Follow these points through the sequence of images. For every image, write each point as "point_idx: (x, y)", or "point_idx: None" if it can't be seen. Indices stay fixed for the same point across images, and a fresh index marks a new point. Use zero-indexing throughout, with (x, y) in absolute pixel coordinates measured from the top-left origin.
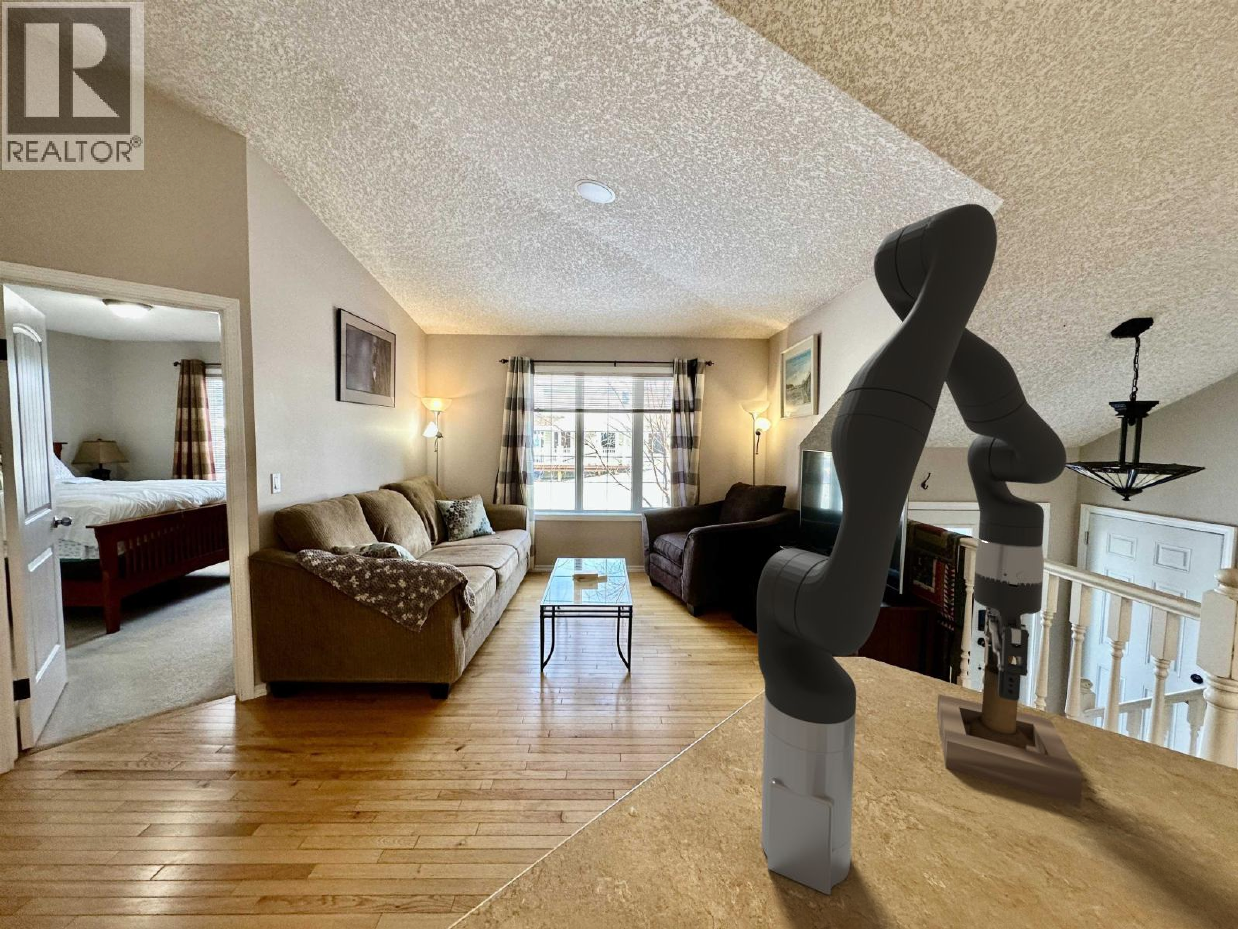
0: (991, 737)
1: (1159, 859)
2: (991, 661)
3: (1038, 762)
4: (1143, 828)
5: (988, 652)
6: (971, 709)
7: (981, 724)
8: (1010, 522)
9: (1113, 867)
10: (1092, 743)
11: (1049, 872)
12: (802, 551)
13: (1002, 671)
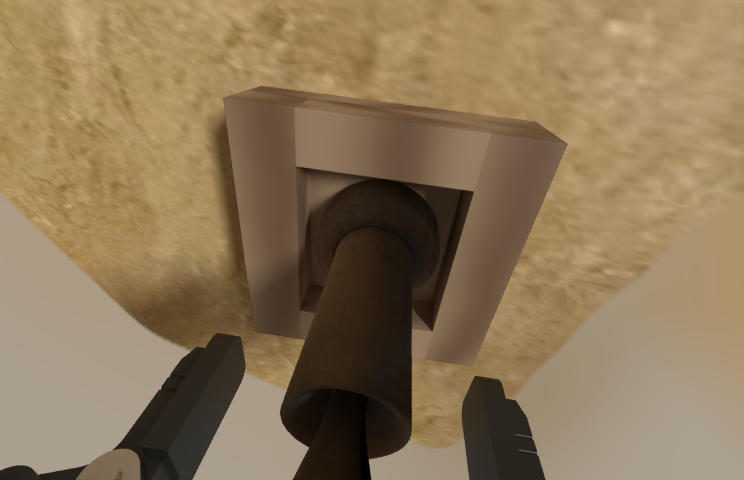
0: (320, 227)
1: (211, 324)
2: (481, 425)
3: (255, 283)
4: (270, 337)
5: (499, 470)
6: (468, 223)
7: (358, 223)
8: None
9: (151, 272)
10: (490, 377)
11: (66, 189)
12: None
13: (9, 468)
